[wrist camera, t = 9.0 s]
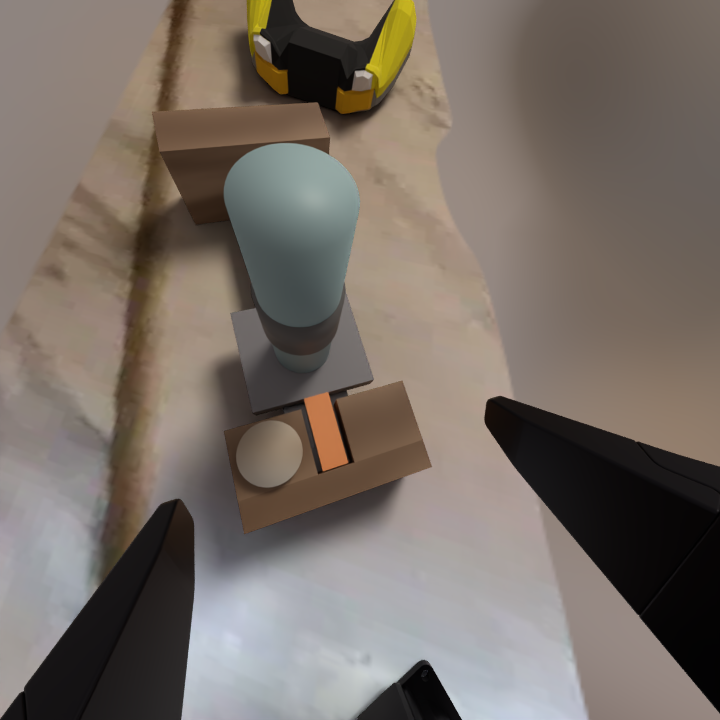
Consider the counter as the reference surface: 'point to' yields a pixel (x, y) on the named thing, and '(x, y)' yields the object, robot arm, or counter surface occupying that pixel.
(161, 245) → the counter surface
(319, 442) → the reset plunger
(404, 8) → the gaming controller
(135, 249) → the counter surface
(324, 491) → the end cabinet
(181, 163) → the end cabinet
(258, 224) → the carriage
